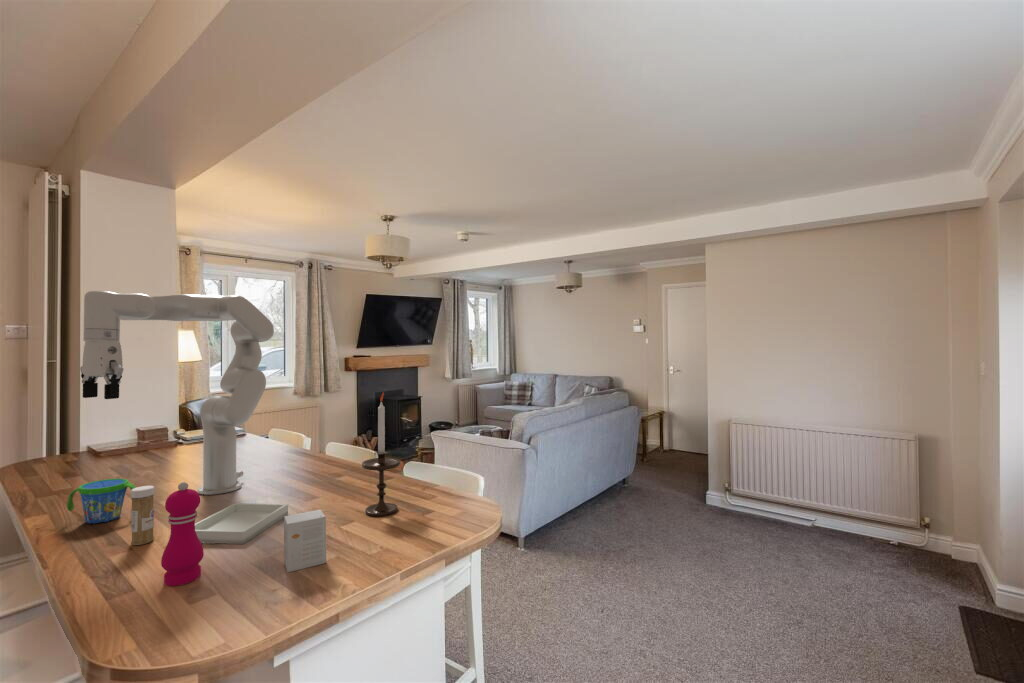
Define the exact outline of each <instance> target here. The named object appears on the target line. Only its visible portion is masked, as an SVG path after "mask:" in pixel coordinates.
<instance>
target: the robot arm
mask: <svg viewBox="0 0 1024 683" xmlns="http://www.w3.org/2000/svg"><path fill="white" fill-rule="evenodd" d="M121 321H168V322H169V321H170V322H172V321H173V322H223V321H234V322H233V323H232V324H231V326H230V334H231V338H232V339H233V341H234V344H235V345H234V346H235V353H234V355H233V358H232V360H231V361H230V363H229V364H228V366H227V369H226V370H225V371H224V374H223V375H222V377H221V379H220V386H219V387H220V389H221V390H222V391H223V392H224V393H226V394H229V395H230V396H229V395H228V396H227V395H214V396H212V397H209V398H207V399H206V400H204V402H203V403H202V405H201V407H200V411H199V413H200V414H199V415H200V421H201V425H202V434H203V438H202V440H203V443H202V444H203V447H202V448H203V450H202V451H203V452H202V454H203V456H202V458H203V460H202V461H203V462H202V463H203V464H202V466H203V468H202V470H203V472H202V481H203V482H202V483H203V484H202V485H201V486H200V487H198V488H197V492H198V494H199V495H203V494H204V495H203V496H209V495H210V496H213V495H221V494H225V493H226V494H227V493H230V492H234V491H237V490H239V489H241V488H242V482H241V481H240V480H239V478H241V477H243V476H244V474H245V472H244V471H243V470H240V471H237V432H236V431H237V430H236V428H235V427H238V426H242V425H244V424H246V423H247V422H248V421H249V420H250V418H251V417H252V415H253V414H254V413H255V412H254V411H255V410H256V408H257V406H258V404H259V402H260V400H261V398H262V396H263V395H264V392H265V389H266V386H267V379H266V375H265V374H264V372H263V371H261V369H258V368H259V365H260V364H261V361H262V359H263V358H262V357H263V356H262V355H263V354H262V349H261V345H260V343H263V342H267V341H270V340H271V339H272V338H273V336H274V332H275V328H274V325H273V323H272V321H271V320H270V319H269V317H267V316H266V315H265V314H264V313H263V312H262V311H260V309H258V307H256V306H255V305H254V304H253V303H252V302H251V301H249V300H248V299H246V298H245V297H244V296H242V295H239V294H233V295H232V294H231V295H205V294H202V295H201V294H172V295H161V296H159V295H157V296H155V295H153V296H152V295H150V296H149V294H144V293H119V292H118V293H116V292H113V291H108V290H107V291H106V290H104V291H103V290H90V291H87V292H85V293H84V298H83V338H82V340H83V342H84V346H83V351H82V352H83V354H82V365H81V366H80V367H79V370H80V373H81V375H80V377H81V378H82V379H81V384H82V398H84V399H89V398H97V397H98V391H99V390H98V389H99V388H98V387H99V386H98V384H99V383H98V382H97V381H98V378H103V379H104V381H105V384H104V388H103V390H104V394H103V395H104V396H103V397H104V400H114V399H119V398H120V384H121V382H122V381H121V379H122V378H123V373H124V367H123V365H124V364H123V351H122V346H121V342H120V340H121V339H120V335H121V334H120V332H121ZM238 480H239V481H238Z"/></svg>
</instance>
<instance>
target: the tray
mask: <svg viewBox="0 0 1024 683" xmlns="http://www.w3.org/2000/svg"><path fill="white" fill-rule="evenodd" d="M284 516H289V504H288V503H237V502H236V503H232V504H230V505H229V506H226V507H225V508H222V509H221V510H218V511H216V512H214V513H213V514H211V515H209V516H206V517H205V518H204V519H201V520H200V521H198V522H195V531H196V534H197V536H198V538H199V540H200V542H204V543H203V544H210V543H226V544H225V545H245V544H246V543H247V542H249V541H251V540H252V539H254V538H255V537H257V536H258V535H260V534H262V533H263V532H264V531H266V530H268V529H269V528H271V527H272V526H273V525H275V524H276V523H278V522H279V521H281V520H282V519H284ZM227 543H228V544H227Z"/></svg>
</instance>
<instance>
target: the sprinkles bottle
mask: <svg viewBox="0 0 1024 683" xmlns="http://www.w3.org/2000/svg"><path fill="white" fill-rule="evenodd" d="M130 490H131V489H130ZM154 494H155V486H153V485H143V486H138V487H136V488H134V489H132V490H131V491H130V497H131V512H130V513H131V517H130V518H131V519H130V520H131V524H130V526H131V527H130V528H131V531H130V532H131V541H130V542H131V544H130V545H131V546H132V545H133V546H143V545H146V544H148V543H151V542H153V541H154V540H155V536H154V526H155V523H154V522H155V520H154V519H155V512H154V511H155V510H154Z"/></svg>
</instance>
